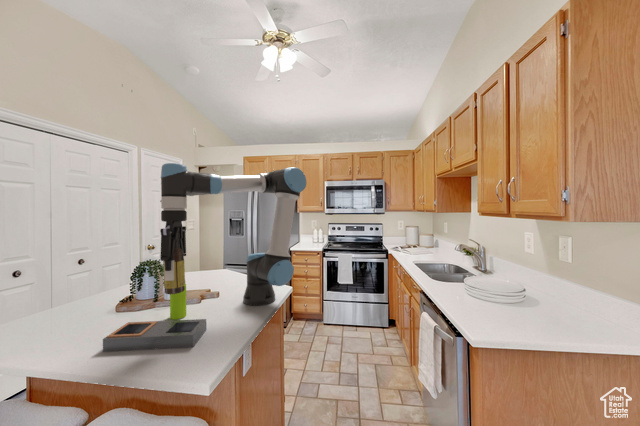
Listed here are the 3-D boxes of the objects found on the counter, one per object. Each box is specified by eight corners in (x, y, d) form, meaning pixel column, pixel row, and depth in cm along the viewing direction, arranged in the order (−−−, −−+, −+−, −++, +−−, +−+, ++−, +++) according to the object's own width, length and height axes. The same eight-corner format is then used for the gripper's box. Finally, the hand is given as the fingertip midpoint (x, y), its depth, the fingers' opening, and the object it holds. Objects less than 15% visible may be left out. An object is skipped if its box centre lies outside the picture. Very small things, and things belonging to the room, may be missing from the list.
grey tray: (206, 329, 94) (206, 318, 94) (193, 347, 82) (193, 333, 82) (128, 333, 91) (128, 321, 91) (102, 351, 79) (102, 338, 79)
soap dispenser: (164, 318, 104) (164, 269, 103) (180, 312, 110) (180, 266, 110) (173, 321, 101) (173, 271, 101) (189, 315, 107) (189, 267, 107)
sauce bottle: (182, 288, 91) (182, 232, 91) (187, 292, 86) (187, 233, 86) (161, 291, 87) (161, 233, 87) (165, 296, 82) (165, 234, 82)
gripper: (175, 209, 96) (175, 271, 96) (146, 209, 77) (146, 286, 77) (196, 209, 97) (196, 270, 97) (172, 209, 78) (172, 285, 78)
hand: (174, 277), depth 87 cm, fingers closed on sauce bottle, 6 cm apart
